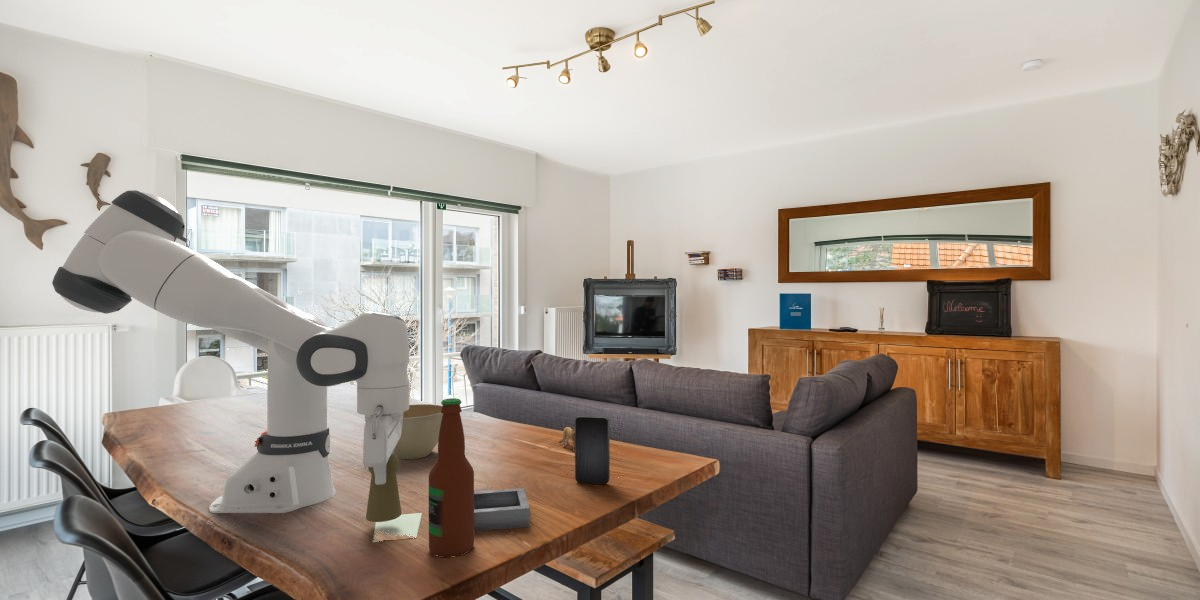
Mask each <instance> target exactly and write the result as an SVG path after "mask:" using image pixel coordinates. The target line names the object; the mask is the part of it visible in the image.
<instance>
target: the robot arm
mask: <svg viewBox="0 0 1200 600" xmlns="http://www.w3.org/2000/svg"><path fill="white" fill-rule="evenodd" d="M185 227H186V226H185V222H184V219H183V216H182V214H180V213H179V212H178V210H177V209H176V208H175V207H174V206H173V205H172V204H171V203H170V202H168V201H167V200H166V199H165V198H162V197H161V196H158V195H155V194H152V193H148V192H144V191H139V190H137V189H135V190H134V189H133V190H125V191H124V192H122V193H121V194H119V195H118V196H117V197H115V198H114V199H113V200H111V205H110V206H109V207H107V208H106V209H105V210H104V211H103V212H102V213H100V215H99V216H98V217H97V218H95V219H94V221H92V222H91V224H90V225H89V226H88V227H87V229H85V230H84V232H83V235H82V237H81V238H80V239H79V240H78V242H77V243H76V245H75V246H74V247H73V249H72V250H71V252H70V254H69V255H68V256H67V258H66V260H65V262H64V263H63V265H62V266H59V267H58V269H57V270H56V272H55V274H54V276H53V278H52V281H51V284H52V286H53V289H54V292H55V293H57V294H58V295H60V297H61V298H63V300H64V301H65V302H67V303H69V304H70V305H72V306H74V307H76V308H78V309H81V310H83V311H87V312H92V313H101V314H107V315H109V314H112V313H116V312H119V311H121V310H122V309H123V308H125V307H126V306H127V305H129V304H130V303H131V302H132V301H133V299H134V300H136V301H138V302H139V303H141V304H143V305H145V306H146V307H148V308H151V309H153V310H155V311H156V312H158V313H161V314H163V315H165V316H167V317H169V318H172V319H173V320H177V321H181V322H183V323H185V324H188V325H189V324H190V325H193V326H196V327H200V328H204V329H205V328H206V329H212V330H214V331H217V332H219V333H220V334H222V335H225V336H228V337H230V338H232V339H234V340H236V341H239V342H242V343H244V344H246V345H249V346H251V347H254V348H256V349H258V350H260V351H263V352H265V353H267V393H266V395H267V397H266V399H267V402H266V403H267V410H266V411H267V413H266V414H267V416H266V417H267V423H266V424H267V426H266V427H267V430H265V431H263V432H262V433H261V434H260V436H258V437H257V438H256V440H255V441H254V447H256V450H257V452H256V453H255V454H253V455H252V456H250V457H249V458H248V459H247V460H246V461H244V462H243V463H242V464H241V465H240V466H238V467H237V468H236V469H234V470H233V471H231V473H230V474H229V475H228V477H227V478H226V480H225V483H224V486H223V492H222V495H220V496H218V497H217V498H216V499H214V500H213V501H212V502H211V504H210V505H209V507H208V511H209V513H211V514H285V513H289V512H294V511H296V510H298V509H302V508H304V507H308V506H313V505H316V504H319V503H322V502H325V501H327V500H329V499H331V498H333V497H334V496H335V494H336V492H337V490H336V488H335V486H334V485H335V484H334V482H333V477H332V473H331V469H330V468H331V467H330V460H329V454H330V451H331V434H330V427H328V387H335V386H338V385H341V384H345V383H349V382H356V412H357V413H358V414H359V415H363V416H364V422H365V424H364V429H363V445H362V446H363V447H362V462H363V466H364V467H366V468H368V467H373V469H374V474H375V484H377V485H380V484H385V483H386V481H387V472H386V464H387V462H388V460H389V458H390V456H391V454H393V452H394V449H395V447H396V445H397V443H398V441H399V439H400V437H401V432H402V423H403V412H405V411H407V410H409V405H410V379H409V375H408V366H409V363H410V344H409V343H410V342H409V331H408V326H407V323H406V322H405V320H403V319H402V318H401V317H400V316H398V315H396V314H392V313H388V312H387V313H386V312H382V311H381V312H380V311H373V310H368V311H367V310H366V311H362V312H361V313H360V314H359V315H357V316H356V317H354V318H353V319H351V320H349V321H347V322H345V323H343V324H340V325H338V326H329V325H326V324H325V323H324V322H323V320H321V319H320V318H319V317H317V316H315V315H313V314H311V313H308V312H306V311H304V310H301V309H300V308H298V307H296V306H294V305H292V304H290V303H289V302H287V301H285V300H284V299H281V298H279V297H277V296H276V295H274V294H271V293H270V292H268V291H266V290H264V289H262V288H260V287H259V286H257V285H256V284H253V283H252V282H250V281H248V280H245V279H244V278H242V277H240V276H238V275H236V274H235V273H232V272H231V271H230V270H228V269H227V268H225V267H223V266H222V265H220V264H219V263H217V262H215V261H214V260H212V259H210V258H208V257H207V256H205V255H203V254H201V253H199V252H197V251H195V250H193V249H191V248H189V247H187V246H184V245H183V244H181V243H178V242H176V241H177V239H178V240H180V241H182V242H184V243H187V241H188V239H187V237H185V236H184V235H185ZM132 298H133V299H132Z"/></svg>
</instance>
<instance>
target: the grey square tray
mask: <svg viewBox="0 0 1200 600" xmlns="http://www.w3.org/2000/svg"><path fill="white" fill-rule="evenodd" d="M530 511H531V510H530V505H529V501H528V497H527V494H526V490H525V488H524V487H518V488H517V487H515V488H505V489H504V488H503V489H492V490H491V489H489V490H477V491H474V532H479V531H490V530H491V531H492V530H505V529H506V530H507V529H515V528H530V525H531V524H530V523H531V522H530V521H531V517H530V515H531V514H530V513H531V512H530Z"/></svg>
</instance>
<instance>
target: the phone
mask: <svg viewBox="0 0 1200 600" xmlns="http://www.w3.org/2000/svg"><path fill="white" fill-rule="evenodd" d="M574 428H575V451H574V480H575V481H576V482H577V483H578V484H590V485H603V486H604V485H607V484H608V483H609V481H610V475H611V473H610V471H611V470H610V458H611V457H610V454H611V453H610V419H609V418H608V417H606V416H594V415H593V416H591V415H589V416H588V415H586V416H585V415H579V416H577V417H576V418H575V419H574Z"/></svg>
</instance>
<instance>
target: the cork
mask: <svg viewBox="0 0 1200 600" xmlns="http://www.w3.org/2000/svg"><path fill="white" fill-rule="evenodd" d="M399 459H400V458H398V457H397V456H396V455H395V454H391V456H390V458H389V460H388V462H387V464H386V472H387V481H386V483H385V484H380V485H377V484H375V474H374V469H373V467H367V469H368V472H369V473H370V474H371V476H370V477H371V478H370V485H369V492H368V498H367V499H368V500H367V505H366V507H367V508H366V513H365V520H367V521H368V522H373V523H376V522H385V521H390V520H393V519H396V518H398V517H399V516H401V515H402V506H401V500H400V493H399V492H400V491H399V487H398V486H399V484H398V477H397V471H398V470H399V466H400V460H399Z"/></svg>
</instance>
